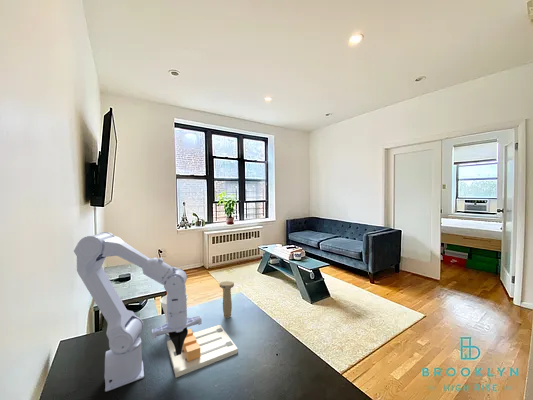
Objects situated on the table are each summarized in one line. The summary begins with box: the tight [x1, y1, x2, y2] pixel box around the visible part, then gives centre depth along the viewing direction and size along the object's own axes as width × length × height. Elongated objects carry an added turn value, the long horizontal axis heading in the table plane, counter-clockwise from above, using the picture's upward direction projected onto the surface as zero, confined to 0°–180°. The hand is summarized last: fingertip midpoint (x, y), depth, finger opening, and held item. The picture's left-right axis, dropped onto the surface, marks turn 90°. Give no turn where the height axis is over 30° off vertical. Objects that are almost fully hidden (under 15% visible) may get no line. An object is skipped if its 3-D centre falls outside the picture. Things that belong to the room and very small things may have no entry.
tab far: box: [186, 328, 194, 338], centre depth 83 cm, size 4×3×3 cm
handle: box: [219, 280, 235, 319], centre depth 102 cm, size 5×6×15 cm
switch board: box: [166, 324, 239, 379], centre depth 80 cm, size 20×18×2 cm
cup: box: [159, 293, 189, 336], centre depth 92 cm, size 10×10×14 cm
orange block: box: [185, 343, 201, 361], centre depth 74 cm, size 4×3×3 cm
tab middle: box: [183, 335, 197, 353], centre depth 78 cm, size 4×3×3 cm
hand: (178, 352), depth 72 cm, fingers closed
